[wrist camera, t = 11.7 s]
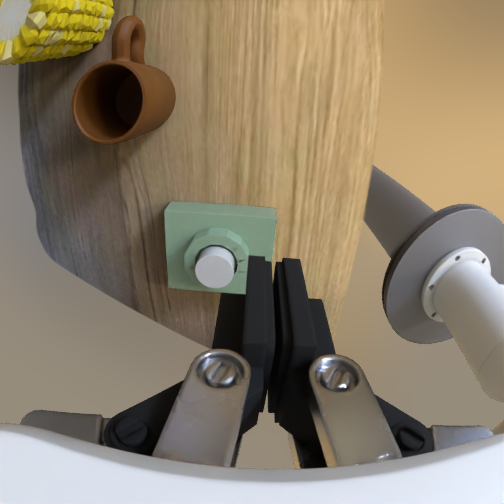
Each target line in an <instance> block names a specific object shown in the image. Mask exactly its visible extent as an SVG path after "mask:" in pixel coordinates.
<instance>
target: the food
mask: <svg viewBox="0 0 504 504" xmlns="http://www.w3.org/2000/svg"><path fill="white" fill-rule="evenodd" d="M112 6H113V2H112V0H0V64H2V65H8V64H10V63H11V64H13V65H15V64H17V63H21V64H24V63H25V62H30V61H34V62H35V61H39V60H42V61H44V60H45V59H47V58H50V59H52V58H55V59H58V58H61V57H66V56H75V55H78V54H80V53H81V52H85V51H88V50H90V49H92V47H93V44H95V43H98V42H101V41H102V39H103V36H104V34H105V31H106V30H109V28H110V25H111V19H112V17H113V14H114V12H115V11H114V10H113V9H112V8H111V7H112Z"/></svg>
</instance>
